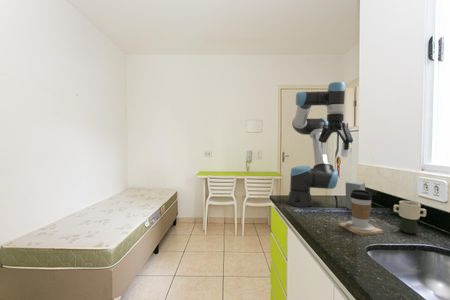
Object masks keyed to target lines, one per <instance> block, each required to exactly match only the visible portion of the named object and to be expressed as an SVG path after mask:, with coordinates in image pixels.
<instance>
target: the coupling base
mask: <svg viewBox="0 0 450 300" xmlns="http://www.w3.org/2000/svg"><path fill="white" fill-rule="evenodd" d="M338 226H340V227H342V228H343V229H346V230H347V231H350V232H352V233H354V234H356V235H358V236H360V237H365V236H372V235H378V234H383V233H384V230H383V229H380V228H378V227H377V226H376V227H375V226H374V225H373V224H371V223H369V222H368V227H366V228H362V227H357V226H355V225H353V224H352V219H351V220H347V221H341V222H338Z"/></svg>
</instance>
